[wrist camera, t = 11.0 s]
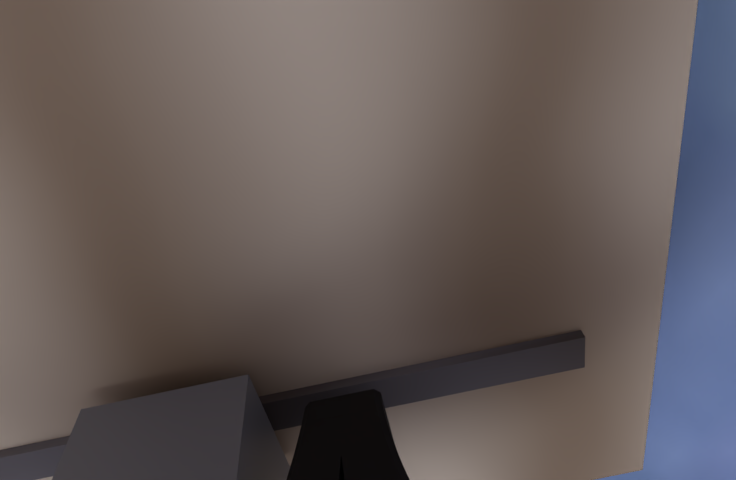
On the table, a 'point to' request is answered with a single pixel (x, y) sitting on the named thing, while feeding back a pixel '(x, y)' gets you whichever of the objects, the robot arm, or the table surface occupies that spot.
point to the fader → (177, 437)
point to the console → (344, 218)
